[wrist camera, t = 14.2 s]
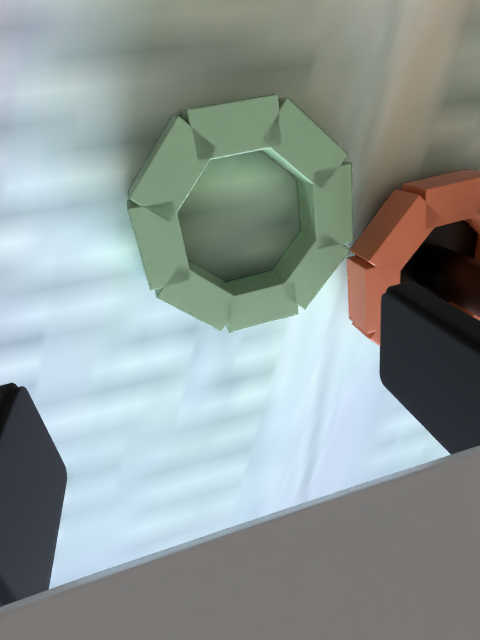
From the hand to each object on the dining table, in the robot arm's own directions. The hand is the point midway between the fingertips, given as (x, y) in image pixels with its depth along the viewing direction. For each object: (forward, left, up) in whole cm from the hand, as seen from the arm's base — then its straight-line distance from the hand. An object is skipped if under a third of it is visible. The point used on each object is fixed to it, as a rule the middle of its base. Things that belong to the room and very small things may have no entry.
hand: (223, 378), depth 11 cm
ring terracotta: (+17, -6, -14) cm, 23 cm away
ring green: (+5, 0, -15) cm, 16 cm away
